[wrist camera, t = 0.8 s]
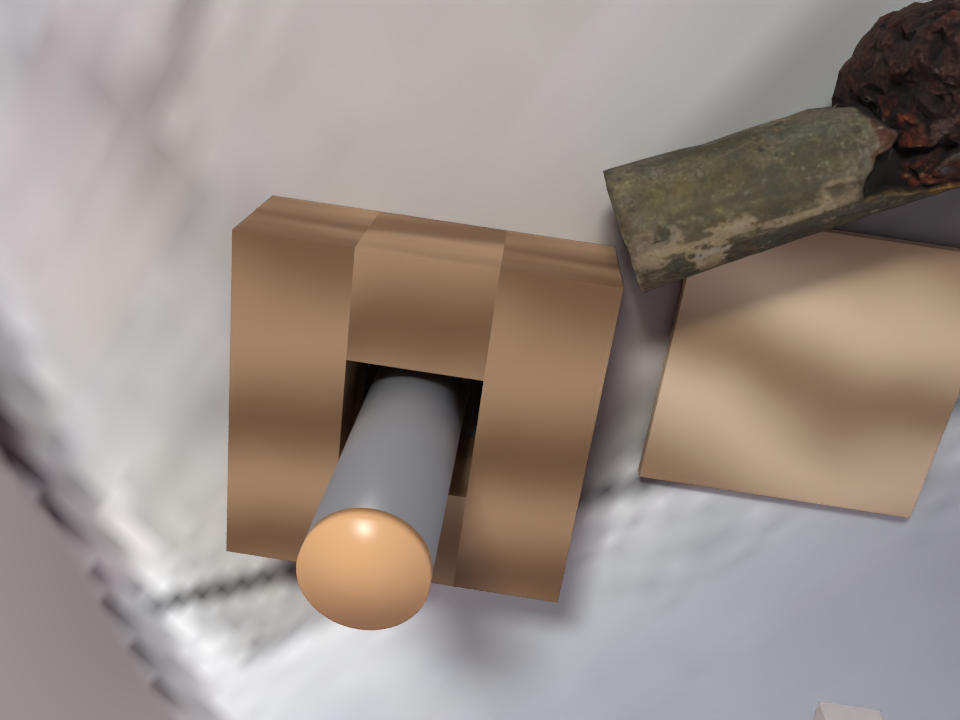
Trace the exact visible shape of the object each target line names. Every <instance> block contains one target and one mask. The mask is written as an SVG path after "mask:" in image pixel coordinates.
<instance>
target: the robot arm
mask: <svg viewBox="0 0 960 720" xmlns="http://www.w3.org/2000/svg"><path fill="white" fill-rule="evenodd" d="M813 720H883V718H882V716H881V714H880V711H879V710H876V709H868V708H861V707H854V706H847V705H840V704H832V703H825V702H819V703H818V706H817V709H816V712H815V715H814V717H813Z"/></svg>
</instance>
